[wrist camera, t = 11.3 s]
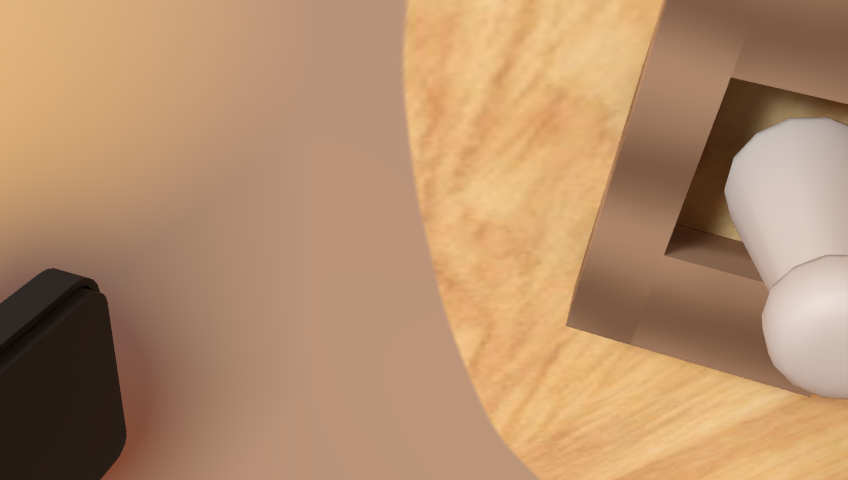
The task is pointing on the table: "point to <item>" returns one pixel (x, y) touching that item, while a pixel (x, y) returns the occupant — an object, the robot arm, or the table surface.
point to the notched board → (672, 175)
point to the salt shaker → (799, 245)
